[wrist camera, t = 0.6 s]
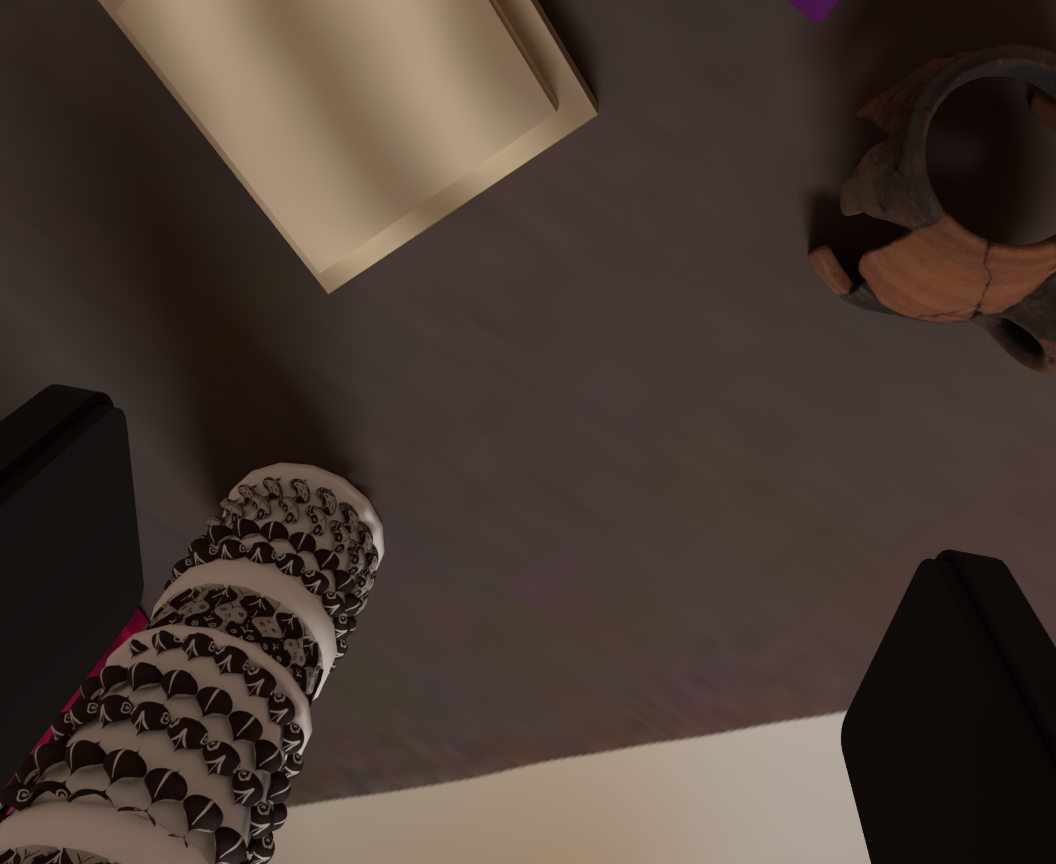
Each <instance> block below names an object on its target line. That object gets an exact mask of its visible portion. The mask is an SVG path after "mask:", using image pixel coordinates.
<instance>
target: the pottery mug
mask: <svg viewBox="0 0 1056 864" xmlns="http://www.w3.org/2000/svg"><path fill="white" fill-rule="evenodd" d="M996 76H1004V77H1013V78H1016V79H1021V80H1024V81H1026V82H1029V83H1031V84H1032V85H1034V86H1035V87H1036V88H1037V90H1036V91H1035V93H1034V95H1033V99H1032V101H1031V103H1030V109H1031V111H1032V113H1033V114H1034V115H1035V116H1036V117H1037V118H1038V119H1039V120H1041V122H1042V123H1044V124H1045V125H1046V126H1048V127H1049V128H1050V129H1051V130H1053V131H1054V132H1056V53H1052V52H1050V51H1047V50H1045V49H1043V48H1040V47H1036V46H1031V45H1024V44H1004V45H996V46H993V47H992V48H990V49H989V48H981V49H978V50H975V51H961V52H954V53H951V54H949V55H948V56H947V58H944V59H933V60H929V61H927V62H926V63H924V64H923V65H921V66H919V67H918V68H916V69H915V70H914V71H912V72H911V73H910V74H908V75H907V76H906V77H905V78H904V79H903V80H901V81H900V82H898V83H897V84H896V85H894V86H893V87H891V88H890V89H888V90H887V91H885V92H884V93H883V94H881V95H879V96H878V97H875V98H874V99H872V100H871V101H870V102H868V103H867V104H866V105H864V106H863V107H862V108H861V109H860V110H858V111H857V113H856V115H857V117H858V118H860V119H866V120H869V121H871V122H873V124H874V125H875V126H877V127H878V128H880V129H881V130H882V131H883V132H885V133H886V134H887V135H888V136H889V137H888V139H887V140H885V141H883V142H881V143H879V144H877V145H875V146H873V147H872V148H871V149H870V150H869V151H868V152H867V153H866V154H865V155H864V156H863V157H862V158H861V159H860V161H859V163H858V165H857V167H856V169H855V171H854V173H853V174H852V175H851V176H850V177H848V178H847V179H846V180H845V181H844V182H843V184H842V186H841V189H840V208H841V211H842V213H843V214H844V215H845V216H850V215H855V214H860V213H862V212H865V213H866V214H867V215H869V216H872V217H874V218H879V219H884V220H888V221H891V222H893V223H896V224H898V225H901V226H904V227H906V228H908V229H909V231H908V232H907V233H905V234H904V235H902V236H900V237H899V238H897V239H895V240H894V241H892V242H890V243H888V244H886V245H884V246H882V247H879V248H875V249H872V250H869V251H867V252H865V253H864V254H863V255H862V258H861V260H860V262H859V272H860V273H861V275H862V276H863V277H864V278H865V279H866V280H865V281H864V282H862V283H861V284H860V285H857V284H855V283H854V282H853V281H852V280H851V279H850V277H849V276H848V275H847V274H846V272H845V271H844V269H843V268H842V266H841V265H840V263H839V262H838V260H837V258H836V257H835V255H834V253H833V251H832V250H831V248H830V246H828V245H822V246H820V247H818V248H816V249H815V250H812V251H810V252H809V260H810V262H811V264H812V266H813V268H814V270H815V271H816V273H817V274H818V276H819V277H820V278H821V279H822V281H823V282H824V283H825V284H826V285H827V286H828V287H829V288H830V289H831V290H832V291H833V292H834V293H836V294H837V295H839V296H840V298H842V299H843V300H845V301H847V302H848V303H850V304H852V305H855V306H857V307H859V308H862V309H865V310H869V311H874V312H881V313H887V314H894V315H898V316H902V317H906V318H910V319H914V320H920V321H926V322H936V323H959V322H966V321H967V320H970V321H972V322H974V323H975V324H977V325H978V326H980V327H982V328H983V329H984V330H986V331H987V332H988V333H989V334H990V336H991V337H992V338H993V339H994V340H995V341H996V342H997V343H998V344H999V345H1000V346H1001V347H1002V348H1003V349H1004V350H1005V351H1006V352H1007V353H1008V354H1009V355H1010V356H1012V357H1013V358H1014V359H1016V360H1017V361H1018V362H1020V363H1021V364H1023V365H1024V366H1026V367H1028V368H1030V369H1032V370H1034V371H1037V372H1052V371H1055V372H1056V234H1055V235H1053V236H1051V237H1050V238H1048V239H1045V240H1043V241H1040V242H1037V243H1033V244H1028V245H1006V244H1000V243H996V242H993V241H987V240H986V239H984V238H982V237H980V236H978V235H975V234H973V233H972V232H970V231H969V230H967V229H966V228H964V227H963V226H962V225H961V224H959V223H958V222H957V221H956V220H955V219H954V218H953V217H952V216H950V215H949V214H948V213H947V212H945V211H944V210H943V208H942V206H941V204H940V201H939V200H938V198H937V196H936V194H935V192H934V190H933V188H932V186H931V183H930V180H929V176H928V172H927V164H926V141H927V134H928V130H929V125H930V120H931V119H932V117H933V115H934V113H935V112H936V110H937V108H938V107H939V105H940V104H941V103H942V102H943V101H944V100H945V98H946V97H947V95H948V94H949V93H951V92H952V91H953V90H954V89H956V88H957V87H959V86H961V85H962V84H964V83H966V82H969V81H971V80H974V79H977V78H981V77H996Z"/></svg>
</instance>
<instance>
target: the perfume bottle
mask: <svg viewBox="0 0 1056 864" xmlns="http://www.w3.org/2000/svg"><path fill="white" fill-rule="evenodd" d="M787 1H788V2H789V3H791V4H792V5H793V6H794V7H796V8H797V9H798V10H799V11H801V12H802V13H803V14H805V15H806V16H807V17H808V18H810V19H811V20H812V21H815V22H821V21H822V20H824V19H825V18H826V17H827V15H828V14H829V13H830V11H831V10H832V9H833V7H834V6H835V5H836V3H837V2H838V1H839V0H787Z"/></svg>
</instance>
